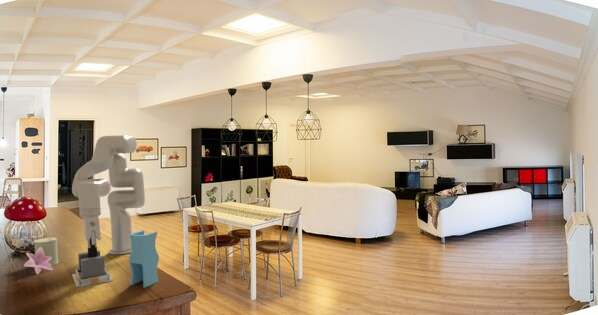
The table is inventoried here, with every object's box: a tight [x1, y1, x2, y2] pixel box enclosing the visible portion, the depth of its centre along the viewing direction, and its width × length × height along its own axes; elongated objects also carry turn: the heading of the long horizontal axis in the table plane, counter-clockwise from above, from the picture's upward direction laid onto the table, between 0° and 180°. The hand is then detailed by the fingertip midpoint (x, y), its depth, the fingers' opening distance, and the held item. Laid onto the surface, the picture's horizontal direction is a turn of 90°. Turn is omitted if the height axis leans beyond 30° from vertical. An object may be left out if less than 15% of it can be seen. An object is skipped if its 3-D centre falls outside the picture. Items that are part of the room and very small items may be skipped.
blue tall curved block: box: [128, 230, 160, 289], centre depth 161 cm, size 8×8×20 cm
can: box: [33, 237, 59, 267], centre depth 191 cm, size 9×9×12 cm
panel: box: [81, 255, 105, 279], centre depth 165 cm, size 8×3×9 cm, turn 124°
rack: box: [71, 249, 114, 289], centre depth 169 cm, size 13×18×10 cm
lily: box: [23, 247, 54, 275], centre depth 180 cm, size 12×12×10 cm
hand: (92, 256), depth 165 cm, fingers closed
